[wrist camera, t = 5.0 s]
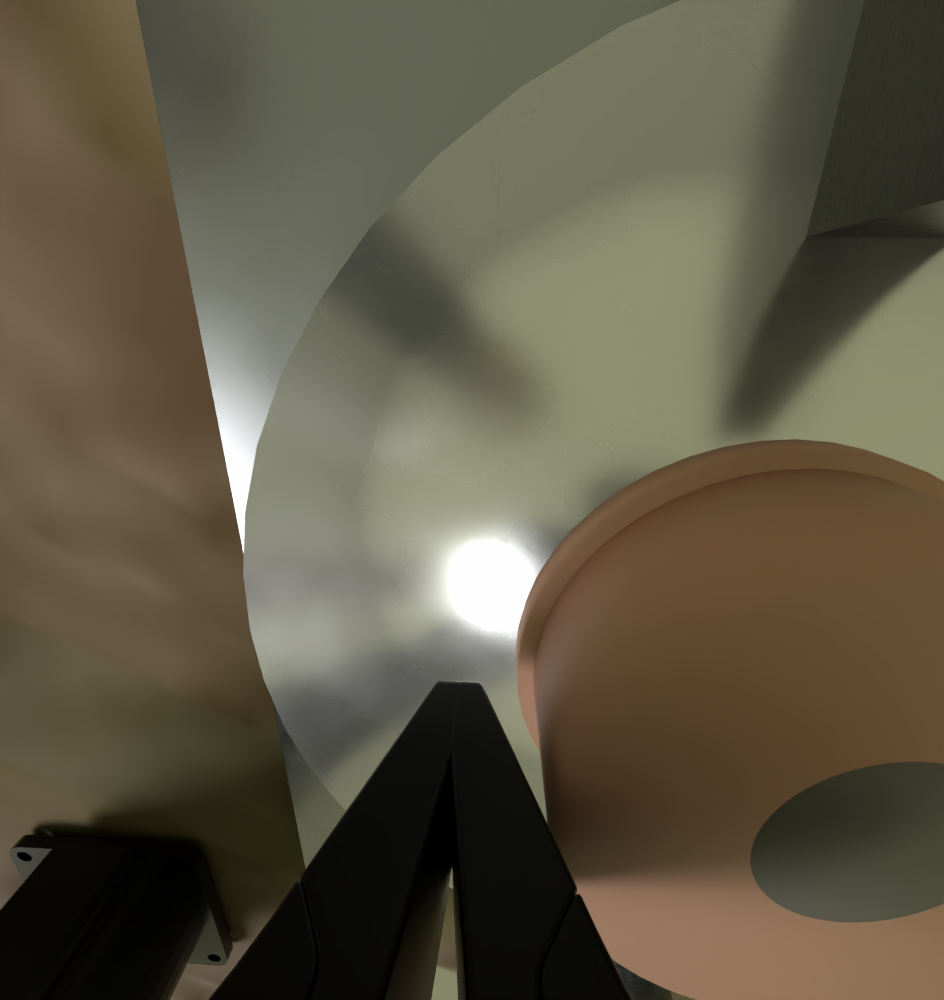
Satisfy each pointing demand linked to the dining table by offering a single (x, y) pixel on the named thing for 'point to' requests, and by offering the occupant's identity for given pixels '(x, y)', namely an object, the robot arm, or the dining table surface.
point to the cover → (751, 722)
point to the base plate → (319, 171)
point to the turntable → (593, 340)
